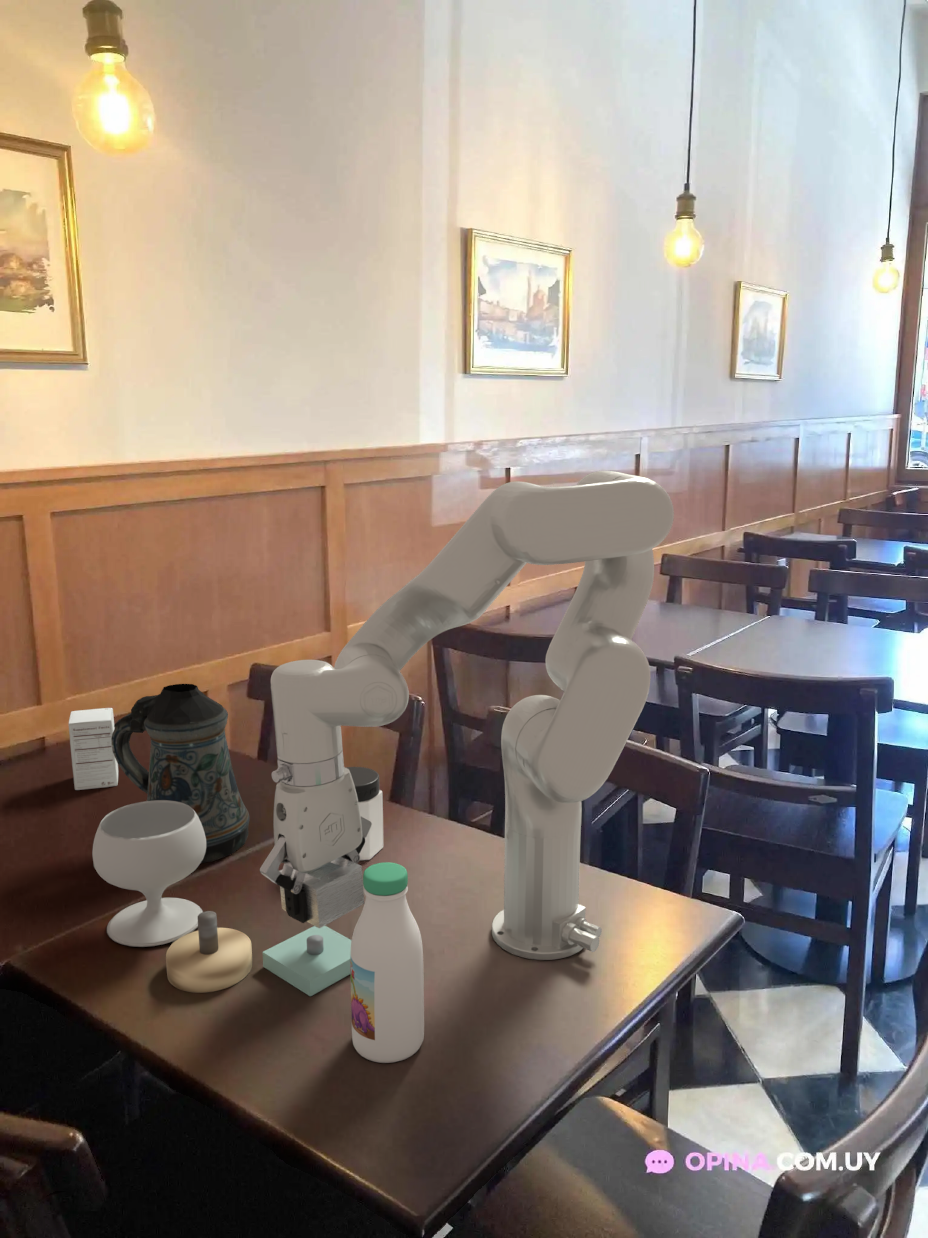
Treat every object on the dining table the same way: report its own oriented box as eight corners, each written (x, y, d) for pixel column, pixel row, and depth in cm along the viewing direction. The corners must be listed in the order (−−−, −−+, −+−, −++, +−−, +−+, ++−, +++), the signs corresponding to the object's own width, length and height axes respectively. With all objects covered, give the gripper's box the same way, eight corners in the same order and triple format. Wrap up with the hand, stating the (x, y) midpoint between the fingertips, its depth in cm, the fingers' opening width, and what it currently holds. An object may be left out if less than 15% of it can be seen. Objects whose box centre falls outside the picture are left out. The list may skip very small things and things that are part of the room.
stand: (368, 963, 118) (367, 937, 118) (310, 996, 112) (309, 969, 111) (320, 937, 124) (319, 912, 124) (263, 966, 118) (261, 940, 117)
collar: (364, 903, 117) (361, 865, 116) (319, 928, 112) (316, 889, 111) (326, 885, 122) (323, 849, 120) (282, 909, 117) (278, 871, 115)
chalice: (83, 920, 128) (73, 815, 125) (183, 887, 137) (176, 788, 134) (123, 966, 118) (114, 853, 114) (229, 927, 127) (223, 821, 123)
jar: (324, 863, 144) (322, 788, 141) (324, 839, 152) (322, 767, 149) (384, 860, 145) (383, 785, 143) (382, 836, 153) (380, 765, 150)
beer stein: (258, 855, 147) (251, 697, 141) (123, 877, 140) (110, 712, 134) (241, 813, 162) (233, 668, 156) (118, 831, 155) (105, 681, 149)
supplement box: (76, 776, 178) (70, 710, 175) (119, 771, 180) (114, 706, 177) (73, 791, 171) (67, 723, 168) (118, 786, 173) (112, 719, 170)
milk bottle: (424, 1018, 108) (423, 853, 104) (423, 1064, 101) (422, 888, 96) (355, 1019, 108) (350, 854, 103) (349, 1066, 100) (344, 889, 96)
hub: (269, 966, 118) (266, 914, 116) (197, 1003, 111) (193, 948, 109) (221, 936, 124) (218, 886, 123) (151, 969, 117) (147, 917, 116)
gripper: (270, 799, 104) (284, 947, 108) (387, 751, 116) (396, 885, 120) (229, 783, 109) (244, 925, 113) (346, 738, 121) (356, 868, 125)
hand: (323, 903), depth 117 cm, fingers closed on collar, 7 cm apart
